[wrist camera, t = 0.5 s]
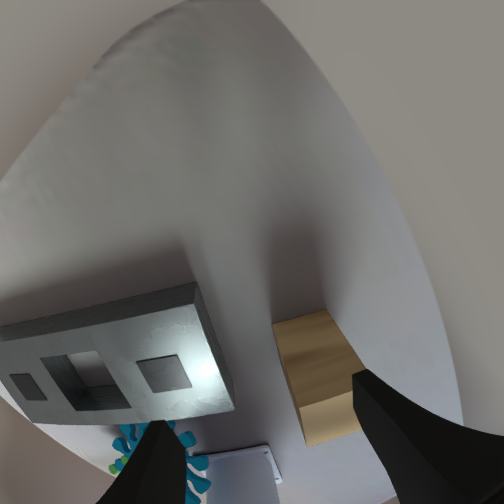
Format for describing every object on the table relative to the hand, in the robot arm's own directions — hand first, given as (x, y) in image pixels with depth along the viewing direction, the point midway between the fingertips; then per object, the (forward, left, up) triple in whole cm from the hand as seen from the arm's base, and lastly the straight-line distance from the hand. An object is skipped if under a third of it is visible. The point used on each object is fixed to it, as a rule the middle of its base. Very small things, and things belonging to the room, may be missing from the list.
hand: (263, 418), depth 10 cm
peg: (-5, -4, -10) cm, 12 cm away
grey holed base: (-3, +12, -10) cm, 16 cm away
